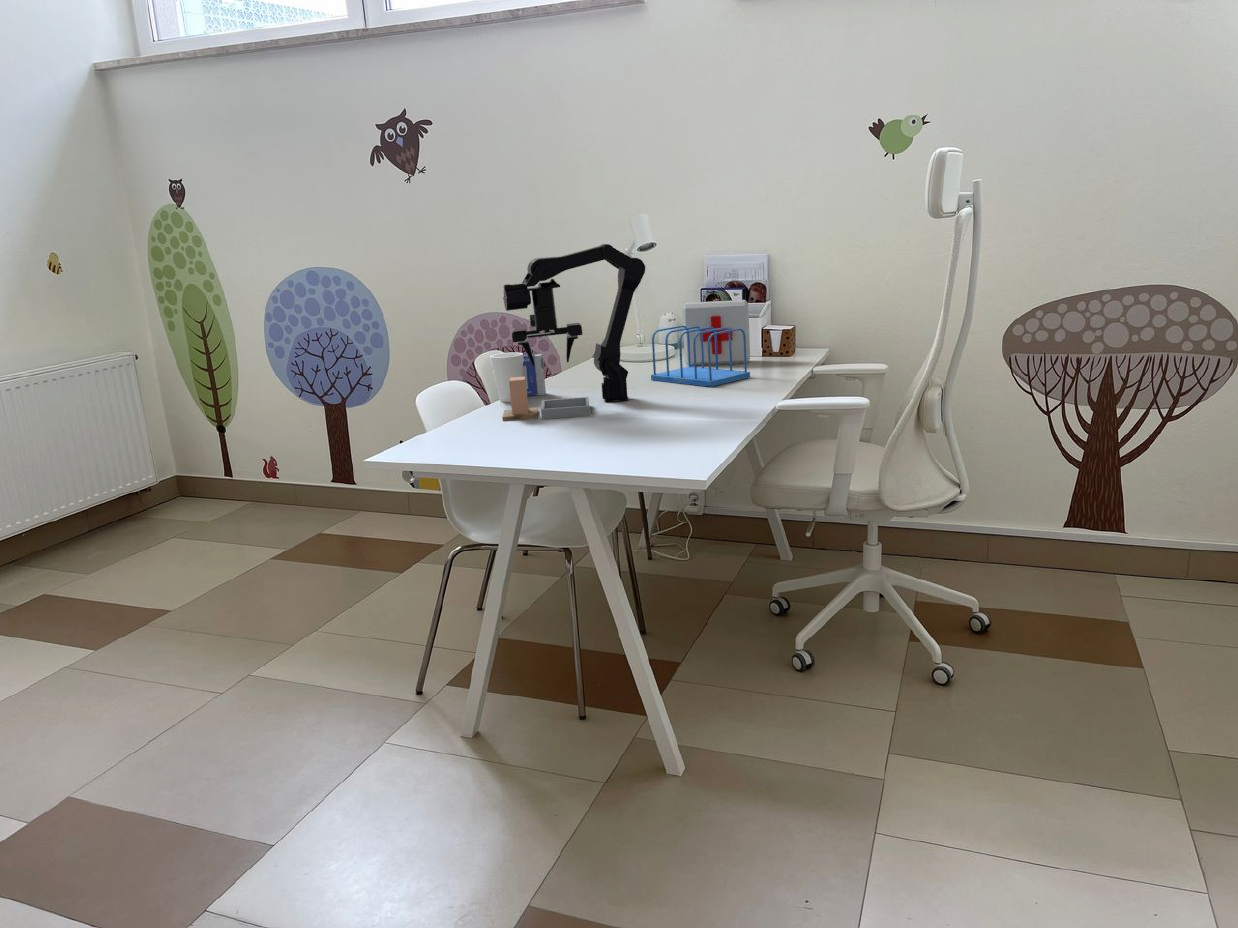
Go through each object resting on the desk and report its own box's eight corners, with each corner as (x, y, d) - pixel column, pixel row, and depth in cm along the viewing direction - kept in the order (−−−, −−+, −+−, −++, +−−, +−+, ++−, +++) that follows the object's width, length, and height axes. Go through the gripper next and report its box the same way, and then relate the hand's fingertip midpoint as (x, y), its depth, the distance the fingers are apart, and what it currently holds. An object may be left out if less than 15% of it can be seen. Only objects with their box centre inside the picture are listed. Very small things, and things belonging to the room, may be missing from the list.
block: (528, 409, 251) (525, 376, 249) (527, 413, 246) (524, 379, 244) (513, 410, 251) (510, 377, 249) (512, 414, 246) (509, 380, 244)
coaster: (538, 411, 254) (537, 407, 253) (537, 418, 245) (536, 414, 245) (504, 413, 253) (504, 410, 253) (502, 420, 245) (502, 417, 244)
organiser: (589, 405, 256) (588, 396, 255) (590, 415, 244) (589, 405, 243) (542, 409, 255) (542, 400, 255) (541, 419, 243) (540, 409, 243)
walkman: (518, 396, 276) (514, 355, 273) (520, 394, 279) (516, 354, 276) (544, 395, 275) (541, 354, 272) (546, 393, 278) (542, 353, 275)
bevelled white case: (684, 367, 306) (681, 305, 301) (686, 363, 314) (683, 302, 309) (749, 364, 303) (747, 302, 297) (750, 360, 310) (748, 299, 305)
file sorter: (750, 378, 280) (749, 326, 276) (711, 388, 269) (709, 334, 265) (689, 371, 298) (687, 323, 294) (650, 381, 287) (647, 330, 283)
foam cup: (521, 402, 267) (516, 357, 263) (490, 403, 269) (485, 358, 265) (530, 395, 276) (526, 351, 272) (500, 396, 278) (496, 353, 274)
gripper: (577, 300, 259) (583, 356, 263) (510, 307, 258) (517, 363, 262) (579, 303, 248) (585, 362, 252) (508, 311, 247) (516, 369, 251)
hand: (550, 364), depth 255 cm, fingers open, 9 cm apart
